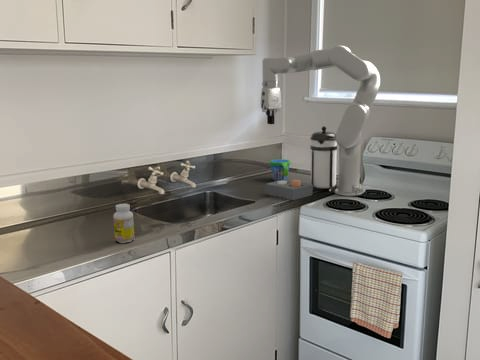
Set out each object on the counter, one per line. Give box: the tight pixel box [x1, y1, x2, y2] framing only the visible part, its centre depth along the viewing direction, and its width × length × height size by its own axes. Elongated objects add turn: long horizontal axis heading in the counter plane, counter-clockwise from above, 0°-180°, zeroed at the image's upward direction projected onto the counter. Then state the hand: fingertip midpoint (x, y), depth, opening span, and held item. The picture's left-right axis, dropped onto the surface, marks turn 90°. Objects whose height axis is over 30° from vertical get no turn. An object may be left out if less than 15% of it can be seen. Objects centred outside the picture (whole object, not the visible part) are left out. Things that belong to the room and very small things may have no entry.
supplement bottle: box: [112, 203, 135, 240], centre depth 186 cm, size 7×7×13 cm
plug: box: [277, 181, 287, 185], centre depth 251 cm, size 4×4×5 cm
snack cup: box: [269, 158, 291, 182], centre depth 280 cm, size 16×10×10 cm
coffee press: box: [309, 125, 338, 193], centre depth 258 cm, size 17×16×30 cm
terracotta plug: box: [290, 179, 302, 187], centre depth 245 cm, size 4×4×5 cm
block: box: [265, 179, 313, 201], centre depth 249 cm, size 17×13×5 cm
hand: (270, 123), depth 257 cm, fingers closed
